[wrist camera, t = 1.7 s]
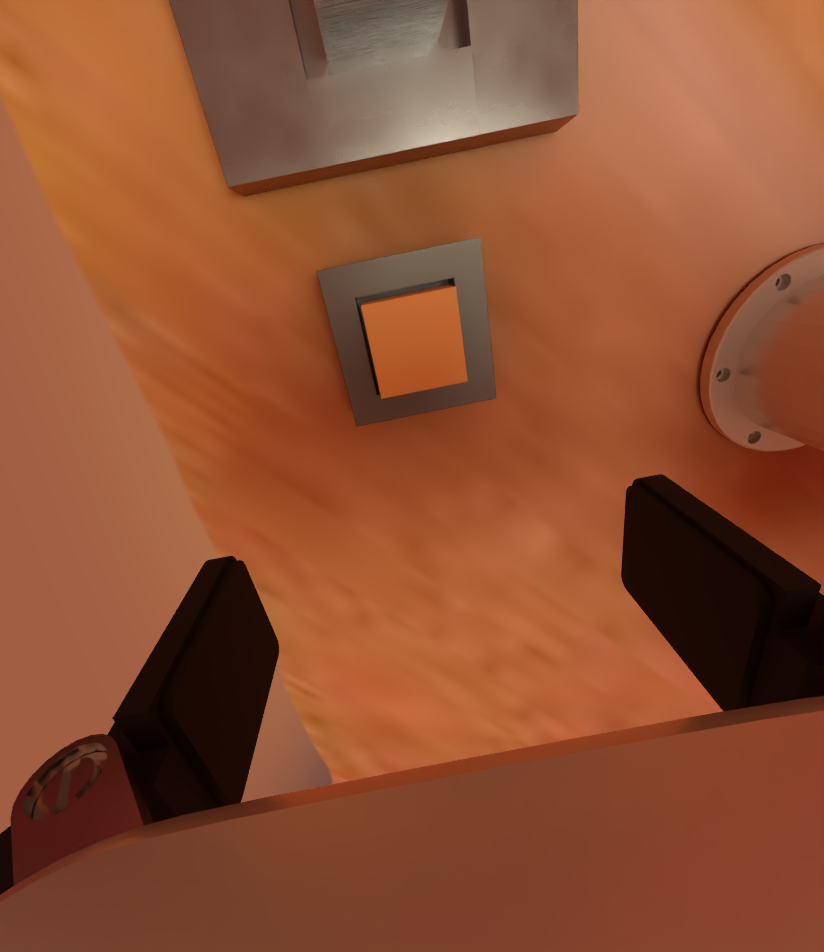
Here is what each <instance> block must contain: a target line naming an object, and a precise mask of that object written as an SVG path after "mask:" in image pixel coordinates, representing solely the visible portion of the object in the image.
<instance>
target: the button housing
mask: <svg viewBox="0 0 824 952" xmlns="http://www.w3.org/2000/svg"><path fill="white" fill-rule="evenodd" d="M317 274H318V278H319V282H320V286H321V290H322V294H323V298H324V302H325V306H326V310H327V313H328V317H329V321H330V325H331V329H332V333H333V337H334V341H335V345H336V349H337V353H338V356H339V360H340V364H341V368H342V372H343V376H344V380H345V384H346V388H347V392H348V396H349V399H350V403H351V407H352V411H353V415H354V419H355V423H356V427H357V426H362V425H367V424H372V423H377V422H382V421H387V420H392V419H396V418H401V417H406V416H411V415H416V414H421V413H426V412H431V411H436V410H441V409H446V408H451V407H456V406H461V405H466V404H471V403H476V402H481V401H486V400H490V399H495V398H496V389H495V379H494V369H493V358H492V348H491V338H490V328H489V318H488V307H487V297H486V287H485V277H484V267H483V256H482V246H481V237H479V238H474V239H469V240H464V241H459V242H454V243H449V244H445V245H440V246H435V247H430V248H425V249H420V250H415V251H411V252H406V253H401V254H396V255H391V256H386V257H381V258H377V259H372V260H367V261H362V262H357V263H352V264H347V265H343V266H338V267H333V268H328V269H323V270H318V271H317ZM446 285H450V286H456V291H457V299H458V307H459V315H460V323H461V331H462V339H463V347H464V355H465V363H466V371H467V379H468V381H467V382H462V383H457V384H452V385H447V386H442V387H437V388H433V389H428V390H423V391H418V392H413V393H408V394H403V395H398V396H393V397H388V398H383V399H381V395H380V390H379V385H378V381H377V376H376V372H375V367H374V363H373V358H372V354H371V349H370V345H369V340H368V336H367V331H366V327H365V322H364V318H363V313H362V309H361V304H362V303H363V302H367V301H372V300H377V299H382V298H387V297H392V296H397V295H402V294H406V293H411V292H416V291H421V290H426V289H431V288H436V287H441V286H446Z"/></svg>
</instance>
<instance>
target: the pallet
mask: <svg viewBox="0 0 824 952" xmlns="http://www.w3.org/2000/svg"><path fill="white" fill-rule="evenodd" d="M169 2H170V5H171V8H172V11H173V15H174V18H175V21H176V24H177V27H178V30H179V34H180V37H181V40H182V43H183V46H184V50H185V53H186V56H187V59H188V62H189V65H190V69H191V72H192V75H193V78H194V81H195V84H196V88H197V91H198V94H199V97H200V100H201V104H202V107H203V110H204V113H205V116H206V119H207V123H208V126H209V129H210V132H211V135H212V138H213V142H214V145H215V148H216V151H217V154H218V158H219V161H220V164H221V167H222V170H223V173H224V177H225V180H226V183H227V186H228V187H229V188H230V189H232V190H234V191H235V192H237V193H239V194H240V195H242V196H247V195H252V194H257V193H262V192H267V191H271V190H276V189H281V188H286V187H291V186H295V185H300V184H305V183H310V182H315V181H319V180H324V179H329V178H334V177H339V176H343V175H348V174H353V173H358V172H363V171H367V170H372V169H377V168H382V167H387V166H391V165H396V164H401V163H406V162H411V161H415V160H420V159H425V158H430V157H435V156H440V155H444V154H449V153H454V152H459V151H464V150H468V149H473V148H478V147H483V146H488V145H492V144H497V143H502V142H507V141H512V140H516V139H521V138H526V137H531V136H536V135H540V134H545V133H550V132H555V131H558V130H559V129H560V128H561V127H563V126H564V125H565V124H566V123H568V122H569V121H570V120H571V119H573V118H574V117H575V116H576V115H578V0H449V1H448V5H447V8H446V12H445V16H444V20H443V23H442V27H441V31H440V35H439V37H435V38H431V39H426V40H421V41H416V42H412V43H407V44H402V45H397V46H393V47H388V48H383V49H378V50H374V51H369V52H364V53H359V54H355V55H350V56H345V57H341V58H336V59H331V60H327V58H326V53H325V49H324V44H323V40H322V36H321V31H320V27H319V22H318V18H317V14H316V9H315V5H314V0H169Z"/></svg>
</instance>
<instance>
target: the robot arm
mask: <svg viewBox="0 0 824 952" xmlns="http://www.w3.org/2000/svg"><path fill="white" fill-rule="evenodd" d="M700 391H701V400H702V404H703V408H704V412H705V414H706V416H707V417H708V419H709V421H710V423H711V425H712V426H713V427H714V428H715V429H716V430H717V431H718V432H719V433H720V434H721V435H722V436H724V437H726V438H727V439H729V440H731V441H732V442H734V443H736V444H738V445H741V446H743V447H745V448H748V449H753V450H758V451H764V452H769V451H784V450H789V449H794V448H799V447H802V446H804V445H808V446H811V447H813V448H816V449H818V450H821V451H823V452H824V244H819V245H814V246H811V247H808V248H806V249H803V250H801V251H798V252H796V253H793V254H791V255H789V256H788V257H786V258H784V259H783V260H781V261H779V262H778V263H776V264H774V265H773V266H771V267H770V268H768V269H767V270H766V271H765V272H763V273H762V274H761V275H760V276H759V277H757V278H756V279H755V280H754V281H752V282H751V283H750V284H749V285H748V287H747V288H746V289H745V290H744V291H743V292H742V293H741V294H740V295H739V296H738V297H737V298H736V299H735V300H734V302H733V303H732V305H731V306H730V307H729V309H728V310H727V312H726V313H725V315H724V316H723V317H722V319H721V320H720V322H719V324H718V326H717V328H716V330H715V332H714V334H713V336H712V338H711V339H710V342H709V345H708V348H707V351H706V354H705V357H704V360H703V365H702V371H701V377H700ZM621 577H622V581H623V584H624V586H625V588H626V590H627V591H628V592H629V594H630V595H631V596H632V597H633V599H634V600H635V601H636V602H637V604H638V605H639V606H640V607H641V609H642V610H643V611H644V612H645V614H646V615H647V616H648V617H649V619H650V620H651V621H652V622H653V624H654V625H655V626H656V627H657V629H658V630H659V631H660V632H661V634H662V635H663V636H664V637H665V639H666V640H667V641H668V642H669V644H670V645H671V646H672V647H673V649H674V650H675V651H676V653H677V654H678V655H679V656H680V658H681V659H682V660H683V661H684V663H685V664H686V665H687V666H688V668H689V669H690V670H691V671H692V673H693V674H694V675H695V676H696V678H697V679H698V680H699V681H700V683H701V684H702V685H703V686H704V688H705V689H706V690H707V691H708V693H709V694H710V695H711V696H712V698H713V699H714V700H715V701H716V703H717V704H718V705H719V706H720V708H721V709H722V710H723V711H724V712H718V713H712V714H706V715H701V716H695V717H690V718H684V719H679V720H673V721H668V722H662V723H657V724H651V725H646V726H640V727H635V728H629V729H624V730H618V731H613V732H607V733H602V734H596V735H591V736H585V737H580V738H574V739H569V740H564V741H558V742H553V743H548V744H542V745H537V746H531V747H526V748H521V749H515V750H510V751H505V752H499V753H494V754H489V755H483V756H478V757H473V758H467V759H462V760H457V761H452V762H446V763H441V764H436V765H430V766H425V767H420V768H414V769H409V770H404V771H399V772H394V773H389V774H383V775H378V776H373V777H368V778H363V779H358V780H352V781H347V782H342V783H337V784H332V785H327V786H321V787H316V788H311V789H306V790H301V791H296V792H290V793H285V794H280V795H275V796H270V797H265V798H261V799H256V800H251V801H247V802H242V803H240V802H241V800H242V797H243V793H244V789H245V785H246V781H247V777H248V773H249V769H250V765H251V761H252V757H253V754H254V750H255V746H256V742H257V738H258V734H259V730H260V726H261V722H262V718H263V714H264V710H265V706H266V702H267V699H268V694H269V691H270V687H271V683H272V679H273V675H274V671H275V667H276V663H277V659H278V655H279V644H278V640H277V637H276V635H275V633H274V630H273V628H272V626H271V623H270V621H269V619H268V616H267V614H266V612H265V610H264V607H263V605H262V603H261V600H260V598H259V596H258V593H257V591H256V589H255V586H254V584H253V582H252V579H251V577H250V575H249V572H248V570H247V568H246V566H245V564H244V562H243V561H241V560H239V561H237V560H236V559H235V558H234V557H233V556H228V557H222V558H217V559H212V560H208V561H206V562H205V563H204V565H203V566H202V568H201V570H200V572H199V573H198V575H197V577H196V578H195V580H194V582H193V584H192V585H191V587H190V588H189V590H188V592H187V594H186V595H185V597H184V599H183V600H182V602H181V604H180V605H179V607H178V609H177V610H176V613H175V614H174V615H173V617H172V619H171V621H170V622H169V624H168V626H167V627H166V629H165V631H164V632H163V634H162V636H161V638H160V639H159V641H158V643H157V644H156V646H155V648H154V650H153V651H152V653H151V654H150V656H149V658H148V660H147V661H146V663H145V665H144V666H143V668H142V670H141V671H140V673H139V675H138V676H137V678H136V680H135V681H134V683H133V685H132V686H131V688H130V690H129V692H128V693H127V695H126V697H125V699H124V700H123V702H122V703H121V705H120V707H119V708H118V710H117V712H116V714H115V715H114V717H113V719H114V721H115V723H114V725H113V726H112V728H111V730H110V731H109V733H108V735H105V734H96V735H90V736H87V737H85V738H82V739H79V740H77V741H75V742H73V743H71V744H69V745H68V746H66V747H64V748H63V749H61V750H60V751H58V752H57V753H56V754H54V755H53V756H52V757H51V758H50V759H48V760H47V761H46V762H45V763H44V764H43V765H42V766H41V767H40V768H39V769H38V770H37V771H36V772H35V773H34V774H33V775H32V776H31V777H30V778H29V780H28V781H27V782H26V784H25V785H24V786H23V788H22V789H21V790H20V792H19V794H18V796H17V798H16V800H15V802H14V805H13V807H12V813H11V826H10V827H8V828H7V829H6V830H5V831H3V832H2V833H1V834H0V952H824V595H822V594H821V593H819V590H820V587H821V584H819V583H818V582H817V581H815V580H814V579H812V578H811V577H809V576H808V575H807V574H805V573H804V572H802V571H801V570H799V569H798V568H796V567H795V566H794V565H792V564H791V563H789V562H788V561H786V560H785V559H784V558H782V557H781V556H779V555H778V554H776V553H775V552H773V551H772V550H771V549H769V548H768V547H766V546H765V545H763V544H762V543H761V542H759V541H758V540H756V539H755V538H753V537H752V536H750V535H749V534H748V533H746V532H745V531H743V530H742V529H740V528H739V527H738V526H736V525H735V524H733V523H732V522H730V521H729V520H728V519H726V518H725V517H723V516H722V515H720V514H719V513H717V512H716V511H715V510H713V509H712V508H710V507H709V506H707V505H706V504H705V503H703V502H702V501H700V500H699V499H697V498H696V497H694V496H693V495H692V494H690V493H689V492H687V491H686V490H684V489H683V488H682V487H680V486H679V485H677V484H676V483H674V482H673V481H671V480H670V479H669V478H667V477H666V476H664V475H654V476H649V477H643V478H638V479H636V480H634V482H633V484H632V486H629V487H628V488H627V490H626V502H625V519H624V536H623V553H622V571H621Z"/></svg>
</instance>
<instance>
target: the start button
mask: <svg viewBox="0 0 824 952" xmlns="http://www.w3.org/2000/svg"><path fill="white" fill-rule="evenodd" d="M361 309H362V313H363V318H364V322H365V327H366V331H367V336H368V340H369V345H370V349H371V354H372V358H373V363H374V367H375V372H376V376H377V381H378V385H379V390H380V395H381V399H383V398H388V397H393V396H398V395H403V394H408V393H413V392H418V391H423V390H428V389H433V388H437V387H442V386H447V385H452V384H457V383H462V382H467V381H468V379H467V371H466V363H465V355H464V347H463V339H462V331H461V323H460V315H459V307H458V299H457V291H456V286H450V285H446V286H441V287H436V288H431V289H426V290H421V291H416V292H411V293H406V294H402V295H397V296H392V297H387V298H382V299H377V300H372V301H367V302H363V303H362V304H361Z"/></svg>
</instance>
